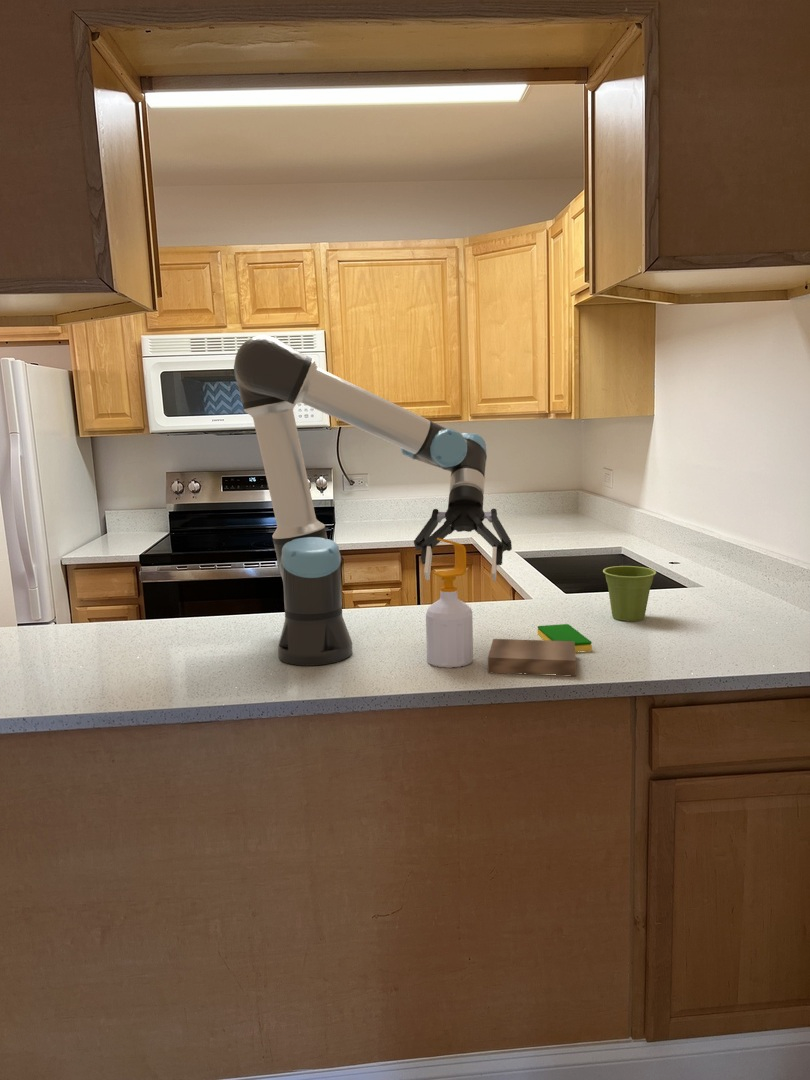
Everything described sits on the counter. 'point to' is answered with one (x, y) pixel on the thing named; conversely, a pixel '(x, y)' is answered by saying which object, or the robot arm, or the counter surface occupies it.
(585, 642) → the dish sponge
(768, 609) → the counter surface
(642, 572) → the plant pot
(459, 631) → the soap bottle
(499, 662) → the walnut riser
